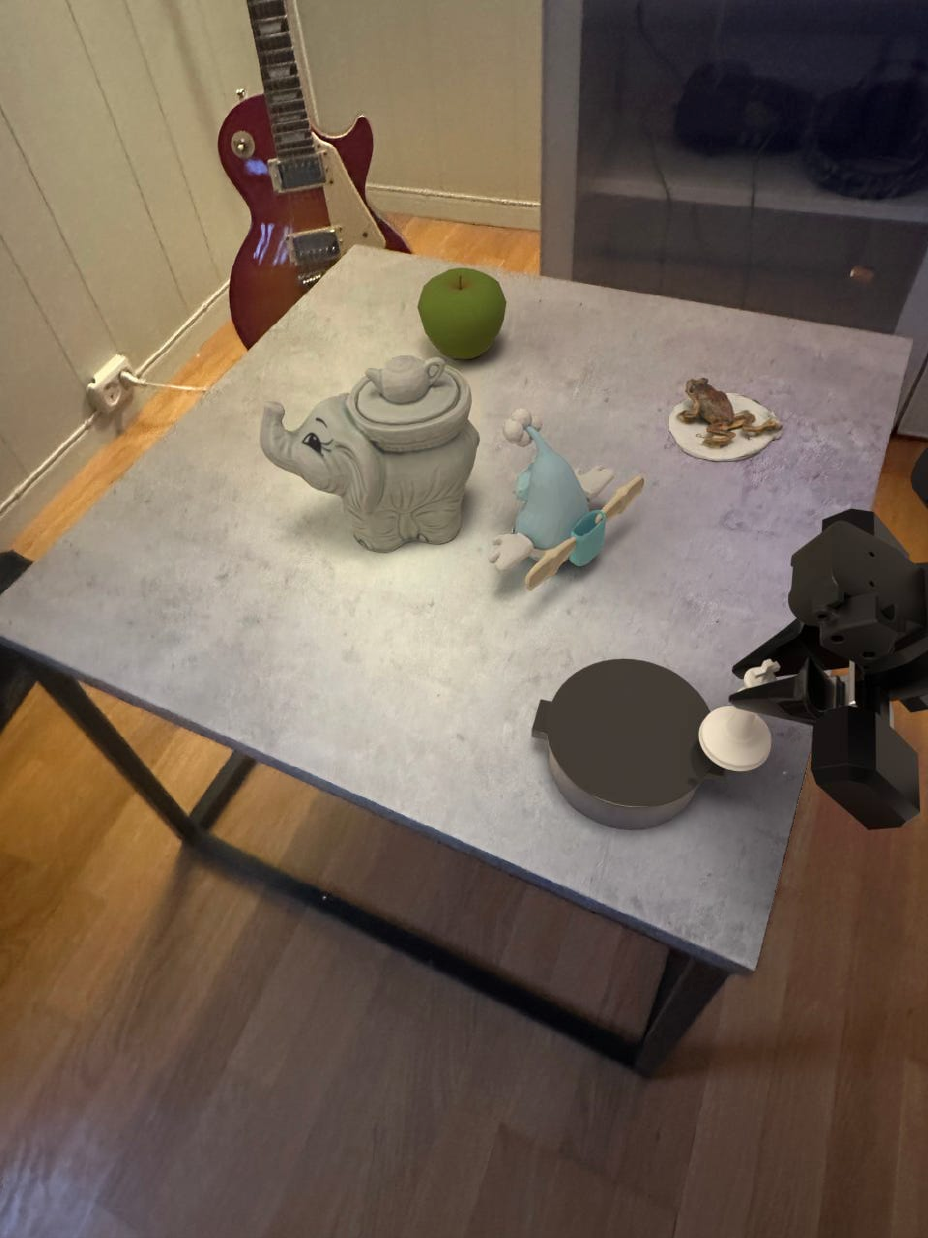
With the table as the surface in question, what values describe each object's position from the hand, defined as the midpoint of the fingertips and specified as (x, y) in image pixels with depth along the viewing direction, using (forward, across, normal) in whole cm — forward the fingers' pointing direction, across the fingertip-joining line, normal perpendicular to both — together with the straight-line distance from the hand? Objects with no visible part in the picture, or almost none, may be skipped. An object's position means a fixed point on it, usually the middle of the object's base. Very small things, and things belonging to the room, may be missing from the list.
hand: (733, 687), depth 49 cm
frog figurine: (+12, -42, +7) cm, 45 cm away
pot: (+14, 0, +5) cm, 14 cm away
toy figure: (+21, -20, -2) cm, 30 cm away
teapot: (+33, -20, -15) cm, 42 cm away
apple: (+34, -50, -15) cm, 63 cm away
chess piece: (+4, 0, +6) cm, 7 cm away
